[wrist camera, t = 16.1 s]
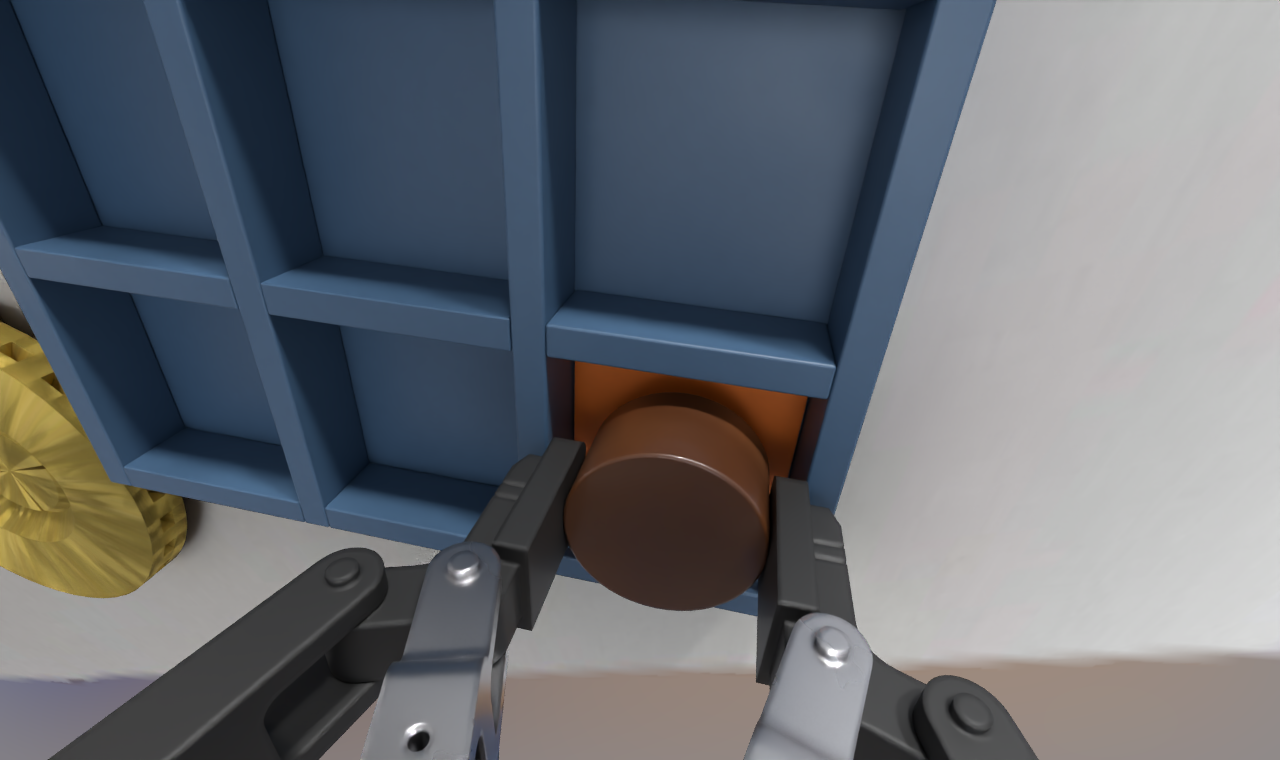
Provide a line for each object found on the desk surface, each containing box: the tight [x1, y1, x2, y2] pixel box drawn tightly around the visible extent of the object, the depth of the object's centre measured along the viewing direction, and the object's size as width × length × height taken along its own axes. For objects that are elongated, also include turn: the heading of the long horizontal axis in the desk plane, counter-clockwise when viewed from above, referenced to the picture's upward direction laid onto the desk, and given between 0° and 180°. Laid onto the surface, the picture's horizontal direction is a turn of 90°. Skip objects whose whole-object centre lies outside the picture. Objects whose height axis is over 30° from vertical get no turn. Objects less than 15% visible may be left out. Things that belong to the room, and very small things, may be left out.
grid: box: [0, 0, 997, 616], centre depth 14 cm, size 21×14×3 cm
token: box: [563, 392, 770, 611], centre depth 13 cm, size 4×4×2 cm
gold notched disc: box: [0, 318, 187, 598], centre depth 21 cm, size 12×12×2 cm
